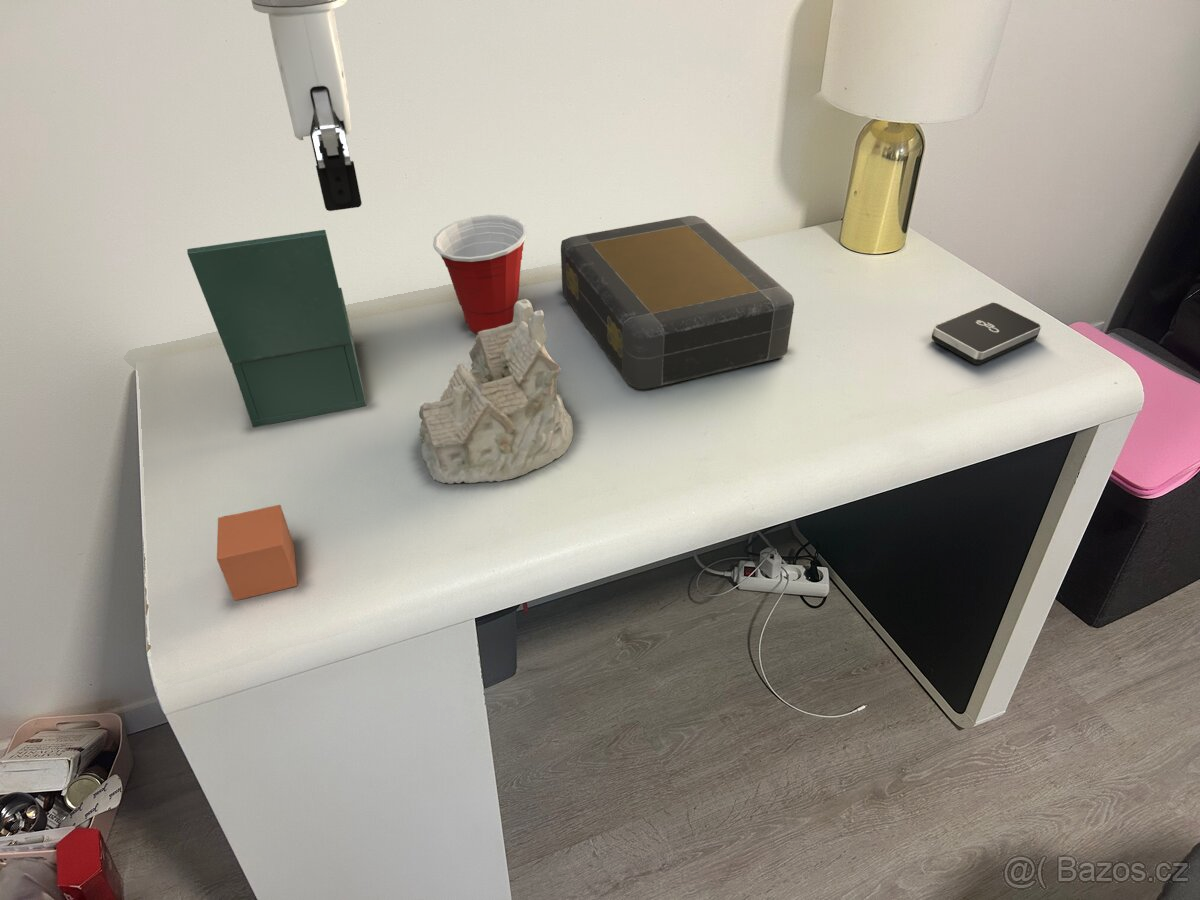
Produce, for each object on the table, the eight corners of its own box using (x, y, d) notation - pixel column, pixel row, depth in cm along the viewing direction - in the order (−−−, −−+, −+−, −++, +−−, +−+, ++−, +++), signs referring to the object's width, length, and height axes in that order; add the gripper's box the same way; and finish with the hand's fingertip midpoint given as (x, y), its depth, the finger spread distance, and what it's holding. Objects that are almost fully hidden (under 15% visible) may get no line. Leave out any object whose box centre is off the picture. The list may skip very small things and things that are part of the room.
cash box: (796, 357, 97) (806, 297, 92) (633, 396, 92) (635, 334, 87) (699, 264, 115) (703, 210, 110) (558, 292, 110) (555, 236, 105)
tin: (251, 364, 97) (232, 304, 92) (354, 346, 100) (341, 287, 95) (253, 427, 88) (231, 364, 83) (366, 405, 91) (352, 343, 86)
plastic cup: (438, 309, 106) (424, 219, 99) (522, 296, 109) (515, 207, 101) (453, 354, 98) (439, 260, 91) (543, 339, 101) (537, 245, 93)
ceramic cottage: (552, 373, 95) (537, 253, 85) (589, 469, 83) (576, 343, 73) (413, 402, 92) (381, 282, 82) (430, 505, 80) (395, 380, 70)
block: (234, 601, 70) (216, 559, 66) (234, 559, 73) (217, 517, 70) (297, 586, 71) (282, 544, 68) (294, 545, 75) (280, 504, 71)
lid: (186, 248, 73) (187, 253, 72) (325, 229, 76) (326, 233, 75) (230, 358, 83) (230, 363, 83) (350, 337, 86) (351, 342, 85)
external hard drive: (1038, 340, 99) (1043, 325, 98) (975, 369, 95) (980, 354, 94) (989, 315, 104) (993, 301, 103) (926, 341, 99) (930, 326, 98)
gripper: (247, -31, 75) (294, 161, 86) (249, 11, 62) (303, 230, 73) (334, -37, 76) (369, 152, 87) (353, 3, 64) (391, 218, 75)
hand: (339, 187), depth 80 cm, fingers open, 9 cm apart
